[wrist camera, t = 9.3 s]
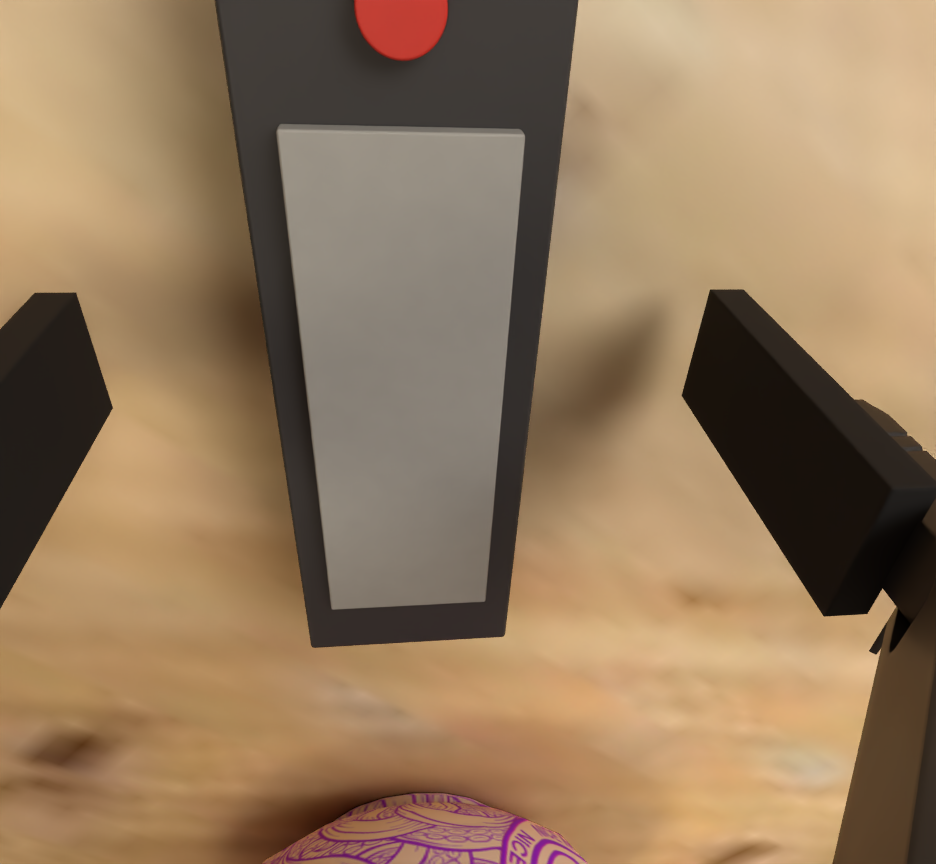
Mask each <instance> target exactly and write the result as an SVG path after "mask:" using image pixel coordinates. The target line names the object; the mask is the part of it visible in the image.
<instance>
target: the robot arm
mask: <svg viewBox="0 0 936 864" xmlns="http://www.w3.org/2000/svg"><path fill="white" fill-rule="evenodd" d="M682 397H683V398H684V400H685V402H686V403H687V405H688V406H689V408H690V409H691V411H692V412H693V414H694V416H695V417H696V419H697V420H698V422H699V423H700V425H701V426H702V428H703V429H704V431H705V433H706V434H707V436H708V437H709V439H710V440H711V442H712V443H713V445H714V447H715V448H716V450H717V451H718V453H719V454H720V456H721V457H722V459H723V461H724V462H725V464H726V465H727V467H728V468H729V470H730V471H731V473H732V475H733V476H734V478H735V479H736V481H737V482H738V484H739V485H740V487H741V489H742V490H743V492H744V493H745V495H746V496H747V498H748V499H749V501H750V502H751V504H752V506H753V507H754V509H755V510H756V512H757V513H758V515H759V516H760V518H761V520H762V521H763V523H764V524H765V526H766V527H767V529H768V530H769V532H770V534H771V535H772V537H773V538H774V540H775V541H776V543H777V544H778V546H779V548H780V549H781V551H782V552H783V554H784V555H785V557H786V558H787V560H788V562H789V563H790V565H791V566H792V568H793V569H794V571H795V572H796V574H797V576H798V577H799V579H800V580H801V582H802V583H803V585H804V586H805V588H806V589H807V591H808V593H809V594H810V596H811V597H812V599H813V600H814V602H815V603H816V605H817V607H818V608H819V610H820V611H821V613H822V614H823V616H840V615H857V614H867V613H868V612H869V610H870V608H871V607H872V605H873V603H874V602H875V600H876V598H877V597H878V595H879V593H880V591H881V590H882V588H883V589H884V590H885V592H886V593H887V594H888V596H889V597H890V598H891V600H892V601H893V602H894V604H895V605H896V606H897V607H896V608H895V610H894V612H893V613H892V615H891V617H890V618H889V620H888V621H887V623H886V625H885V626H884V628H883V629H882V631H881V633H880V634H879V636H878V637H877V639H876V641H875V642H874V644H873V645H872V647H871V649H870V650H869V651H870V652H872V653H874V654H877V653H878V651H879V650H880V649H881V652H880V656H879V661H878V665H877V669H876V674H875V678H874V683H873V687H872V692H871V696H870V700H869V705H868V709H867V714H866V718H865V723H864V727H863V731H862V736H861V740H860V745H859V749H858V754H857V758H856V762H855V767H854V771H853V776H852V780H851V784H850V789H849V793H848V798H847V802H846V807H845V811H844V815H843V820H842V824H841V829H840V833H839V838H838V842H837V846H836V851H835V855H834V860H833V864H936V460H935V459H934V458H933V457H932V456H931V455H930V454H929V453H928V452H927V451H922V446H921V445H920V444H919V443H918V442H916V441H915V440H914V439H913V438H912V437H911V436H907V432H906V431H905V430H904V429H903V428H902V427H901V426H900V425H899V424H898V423H897V422H896V421H895V420H893V419H892V418H891V417H890V416H889V415H888V414H886V413H885V412H883V411H881V410H879V409H878V408H876V407H874V406H872V405H871V404H869V403H867V402H866V401H864V400H854V399H853V398H852V397H851V396H850V395H849V394H848V393H847V392H846V391H845V390H844V389H843V388H842V387H841V386H840V385H839V384H838V383H837V382H836V381H835V380H834V379H833V378H832V377H831V376H830V375H829V374H828V373H827V372H826V371H825V370H824V369H823V368H822V367H821V366H820V365H819V364H818V363H817V362H816V361H815V360H814V359H813V358H812V357H811V356H810V355H809V354H808V353H807V352H806V351H805V350H804V349H803V348H802V347H801V346H800V345H799V344H798V343H797V342H796V341H795V340H794V339H793V338H792V337H791V336H790V335H789V334H788V333H787V332H786V331H785V330H784V329H783V328H782V327H781V326H780V325H779V324H778V323H777V322H776V321H775V320H774V319H773V318H772V317H771V316H770V315H769V314H768V313H767V312H766V311H765V310H764V309H763V308H762V307H760V306H759V305H758V304H757V303H756V302H755V301H754V300H753V299H752V298H751V297H750V296H749V295H748V294H747V293H746V292H745V291H744V290H710V292H709V296H708V300H707V303H706V307H705V311H704V314H703V318H702V322H701V326H700V329H699V333H698V337H697V341H696V344H695V348H694V352H693V355H692V359H691V363H690V367H689V370H688V374H687V378H686V381H685V385H684V389H683V393H682ZM112 409H113V407H112V404H111V401H110V398H109V395H108V391H107V388H106V385H105V382H104V379H103V376H102V373H101V369H100V366H99V363H98V360H97V357H96V354H95V351H94V348H93V344H92V341H91V338H90V335H89V332H88V329H87V326H86V322H85V319H84V316H83V313H82V310H81V307H80V304H79V300H78V297H77V294H76V293H34V294H33V295H32V296H31V298H30V299H29V300H28V301H27V302H26V303H25V304H24V305H23V306H22V307H21V308H20V309H19V310H18V311H17V312H16V313H15V314H14V315H13V316H12V318H11V319H10V320H9V321H8V322H7V323H6V324H5V325H4V326H3V327H2V328H1V329H0V608H1V607H2V605H3V603H4V601H5V600H6V598H7V596H8V594H9V592H10V591H11V589H12V587H13V585H14V583H15V582H16V580H17V578H18V576H19V575H20V573H21V571H22V569H23V567H24V566H25V564H26V562H27V560H28V559H29V557H30V555H31V553H32V551H33V550H34V548H35V546H36V544H37V542H38V541H39V539H40V537H41V535H42V534H43V532H44V530H45V528H46V526H47V525H48V523H49V521H50V519H51V517H52V516H53V514H54V512H55V510H56V509H57V507H58V505H59V503H60V501H61V500H62V498H63V496H64V494H65V492H66V491H67V489H68V487H69V485H70V484H71V482H72V480H73V478H74V476H75V475H76V473H77V471H78V469H79V467H80V466H81V464H82V462H83V460H84V459H85V457H86V455H87V453H88V451H89V450H90V448H91V446H92V444H93V442H94V441H95V439H96V437H97V435H98V434H99V432H100V430H101V428H102V426H103V425H104V423H105V421H106V419H107V417H108V416H109V414H110V412H111V410H112Z"/></svg>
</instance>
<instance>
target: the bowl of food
mask: <svg viewBox="0 0 936 864" xmlns="http://www.w3.org/2000/svg"><path fill="white" fill-rule="evenodd" d="M262 864H588V863H587V862H586V861H585V860H584V859H583V858H582V857H581V856H580V855H579V854H578V853H577V852H576V850H575V849H574V848H573V847H572V846H571V845H570V844H569V843H568V842H567V841H566V840H565V839H564V838H563V837H562V836H561V835H560V834H558V833H556V832H554V831H552V830H549V829H547V828H545V827H543V826H540V825H538V824H536V823H534V822H531V821H529V820H527V819H524V818H522V817H519V816H516V815H514V814H511V813H508V812H505V811H503V810H500V809H495V808H490V807H489V806H487V805H485V804H483V803H480V802H478V801H476V800H473V799H471V798H468V797H462V796H457V795H451V794H445V793H412V794H406V795H400V796H393V797H387V798H382V799H379V800H376V801H373V802H370V803H367V804H364V805H361V806H358V807H356V808H354V809H352V810H351V811H349V812H347V813H346V814H344V815H342V816H341V817H339V818H337V819H336V820H335V821H334V822H331V823H328V824H327V825H325V826H323V827H321V828H320V829H318V830H316V831H314V832H313V833H311V834H309V835H307V836H305V837H304V838H302V839H300V840H299V841H297V842H295V843H293V844H292V845H290V846H288V847H287V848H285V849H283V850H282V851H280V852H278V853H276V854H275V855H273V856H271V857H270V858H268V859H266V860H265V861H264V862H263V863H262Z"/></svg>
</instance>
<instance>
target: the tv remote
mask: <svg viewBox="0 0 936 864" xmlns="http://www.w3.org/2000/svg"><path fill="white" fill-rule="evenodd" d="M215 6H216V13H217V20H218V26H219V33H220V40H221V46H222V53H223V60H224V66H225V73H226V80H227V86H228V93H229V100H230V106H231V113H232V120H233V126H234V133H235V140H236V147H237V153H238V160H239V167H240V173H241V180H242V187H243V193H244V200H245V207H246V213H247V220H248V227H249V233H250V240H251V247H252V253H253V260H254V267H255V273H256V280H257V287H258V293H259V300H260V307H261V313H262V320H263V327H264V333H265V340H266V347H267V354H268V360H269V367H270V374H271V380H272V387H273V394H274V400H275V407H276V414H277V420H278V427H279V434H280V440H281V447H282V454H283V460H284V467H285V474H286V480H287V487H288V494H289V500H290V507H291V514H292V520H293V527H294V534H295V540H296V547H297V554H298V561H299V567H300V574H301V581H302V587H303V594H304V601H305V607H306V614H307V621H308V627H309V634H310V641H311V646H312V647H314V648H317V647H334V646H352V645H369V644H386V643H403V642H421V641H438V640H455V639H472V638H490V637H503V636H504V635H505V629H506V620H507V612H508V603H509V594H510V586H511V577H512V569H513V560H514V551H515V543H516V534H517V525H518V517H519V508H520V499H521V491H522V482H523V474H524V465H525V456H526V448H527V439H528V430H529V422H530V413H531V405H532V396H533V387H534V379H535V370H536V361H537V353H538V344H539V335H540V327H541V318H542V310H543V301H544V292H545V284H546V275H547V266H548V258H549V249H550V241H551V232H552V223H553V215H554V206H555V197H556V189H557V180H558V171H559V163H560V154H561V146H562V137H563V128H564V120H565V111H566V102H567V94H568V85H569V77H570V68H571V59H572V51H573V42H574V33H575V25H576V16H577V7H578V0H215Z"/></svg>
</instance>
